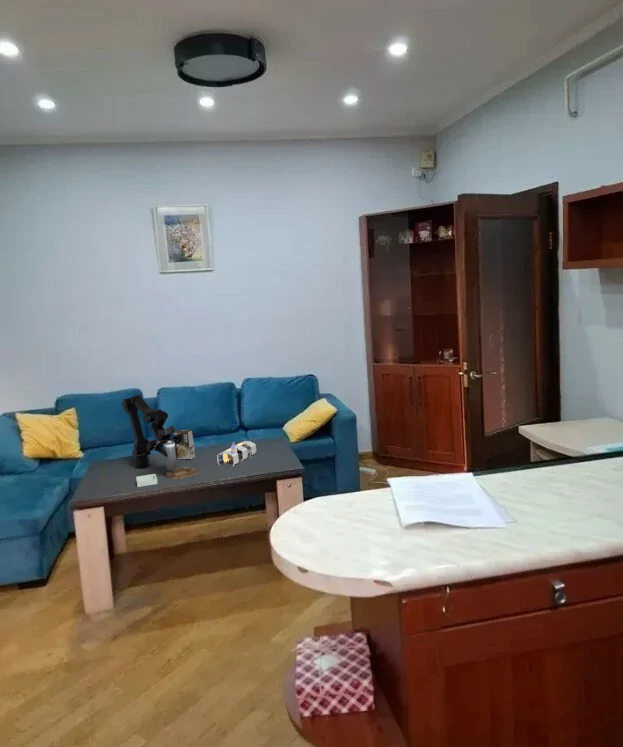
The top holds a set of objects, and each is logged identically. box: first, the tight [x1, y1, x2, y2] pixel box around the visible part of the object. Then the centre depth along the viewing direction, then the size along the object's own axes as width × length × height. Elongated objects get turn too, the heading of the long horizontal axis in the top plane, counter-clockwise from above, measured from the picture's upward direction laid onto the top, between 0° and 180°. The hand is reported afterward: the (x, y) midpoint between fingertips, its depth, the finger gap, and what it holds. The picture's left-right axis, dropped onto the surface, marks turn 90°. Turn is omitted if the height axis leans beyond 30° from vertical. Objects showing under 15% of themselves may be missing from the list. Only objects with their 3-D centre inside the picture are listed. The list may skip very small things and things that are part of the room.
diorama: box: [216, 440, 257, 467], centre depth 330 cm, size 25×10×13 cm, turn 157°
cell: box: [164, 441, 178, 470], centre depth 302 cm, size 5×5×14 cm
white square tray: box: [135, 473, 158, 488], centre depth 298 cm, size 10×10×3 cm
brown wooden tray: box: [164, 466, 200, 481], centre depth 308 cm, size 13×13×2 cm
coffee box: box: [173, 429, 196, 460], centre depth 340 cm, size 9×6×16 cm
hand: (171, 455), depth 301 cm, fingers closed on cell, 5 cm apart
